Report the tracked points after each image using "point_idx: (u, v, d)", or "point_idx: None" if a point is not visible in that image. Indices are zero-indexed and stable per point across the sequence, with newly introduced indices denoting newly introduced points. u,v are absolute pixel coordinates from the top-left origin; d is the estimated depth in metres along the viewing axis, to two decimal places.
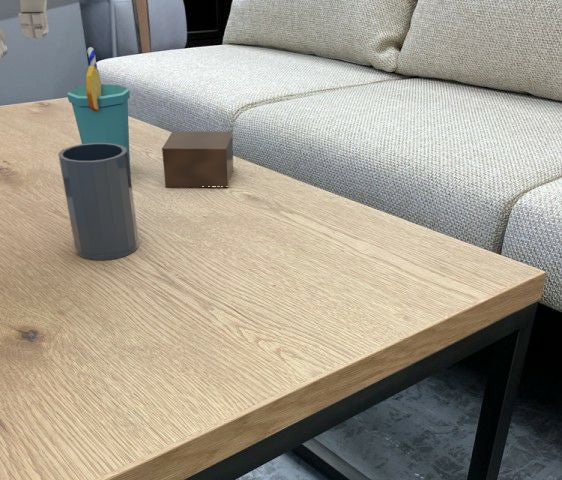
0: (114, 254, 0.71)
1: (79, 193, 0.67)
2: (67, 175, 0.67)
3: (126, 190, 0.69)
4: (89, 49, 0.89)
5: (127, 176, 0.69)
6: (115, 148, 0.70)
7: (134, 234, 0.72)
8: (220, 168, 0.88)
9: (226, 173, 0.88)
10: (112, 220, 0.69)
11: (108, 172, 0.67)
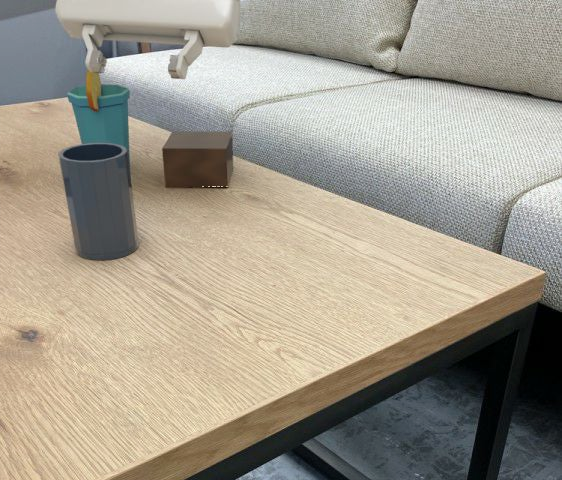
0: (114, 254, 0.71)
1: (79, 193, 0.67)
2: (67, 175, 0.67)
3: (126, 190, 0.69)
4: None
5: (127, 176, 0.69)
6: (115, 148, 0.70)
7: (134, 234, 0.72)
8: (220, 168, 0.88)
9: (226, 173, 0.88)
10: (112, 220, 0.69)
11: (108, 172, 0.67)
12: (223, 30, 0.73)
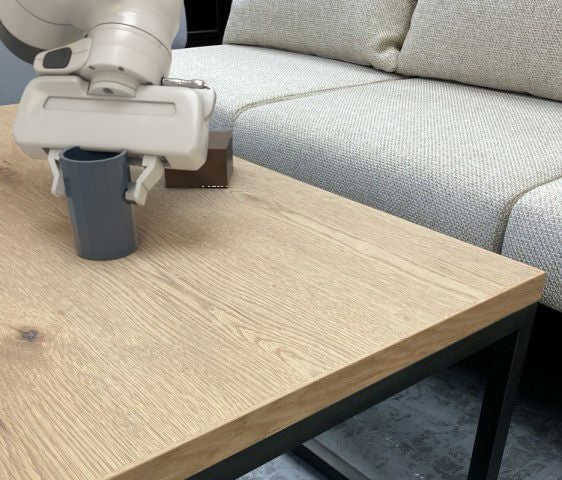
0: (114, 254, 0.71)
1: (79, 193, 0.67)
2: (67, 175, 0.67)
3: (126, 190, 0.69)
4: None
5: (127, 176, 0.69)
6: None
7: (134, 234, 0.72)
8: (220, 168, 0.88)
9: (226, 173, 0.88)
10: (112, 220, 0.69)
11: (108, 172, 0.67)
12: (190, 156, 0.68)
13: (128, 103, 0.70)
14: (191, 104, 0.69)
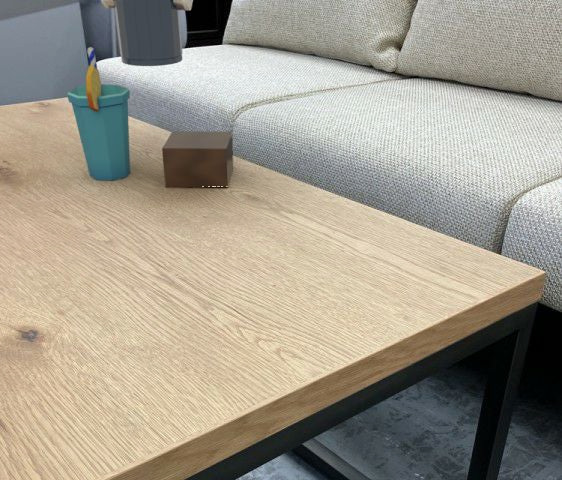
0: (161, 60, 0.73)
1: None
2: None
3: None
4: (89, 49, 0.89)
5: None
6: None
7: (179, 44, 0.74)
8: (220, 168, 0.88)
9: (226, 173, 0.88)
10: (160, 22, 0.71)
11: None
12: None
13: None
14: None
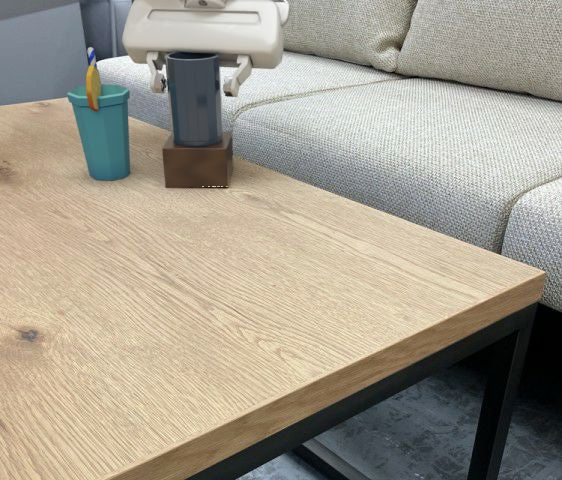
0: (206, 142, 0.87)
1: (182, 87, 0.84)
2: (173, 72, 0.83)
3: (218, 87, 0.85)
4: (89, 49, 0.89)
5: (219, 75, 0.85)
6: (208, 54, 0.86)
7: (221, 126, 0.88)
8: (220, 168, 0.88)
9: (226, 173, 0.88)
10: (207, 111, 0.85)
11: (206, 69, 0.83)
12: (271, 54, 0.84)
13: (218, 13, 0.86)
14: (271, 12, 0.85)
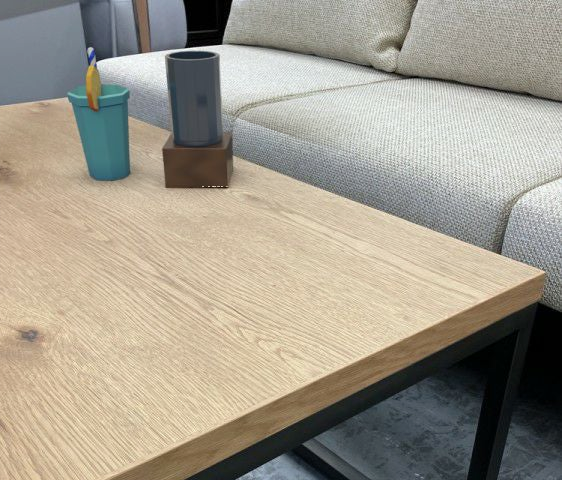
0: (206, 142, 0.87)
1: (182, 87, 0.84)
2: (173, 72, 0.83)
3: (218, 87, 0.85)
4: (89, 49, 0.89)
5: (219, 75, 0.85)
6: (208, 54, 0.86)
7: (221, 126, 0.88)
8: (220, 168, 0.88)
9: (226, 173, 0.88)
10: (207, 111, 0.85)
11: (206, 69, 0.83)
12: None
13: None
14: None
